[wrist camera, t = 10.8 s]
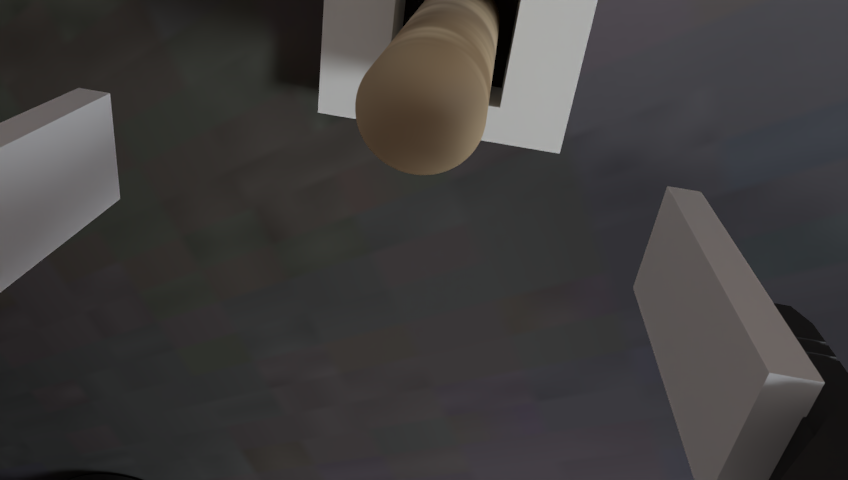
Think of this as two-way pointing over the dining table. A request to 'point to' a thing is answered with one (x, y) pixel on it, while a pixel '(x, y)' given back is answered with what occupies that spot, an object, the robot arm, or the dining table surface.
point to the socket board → (508, 106)
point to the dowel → (431, 87)
